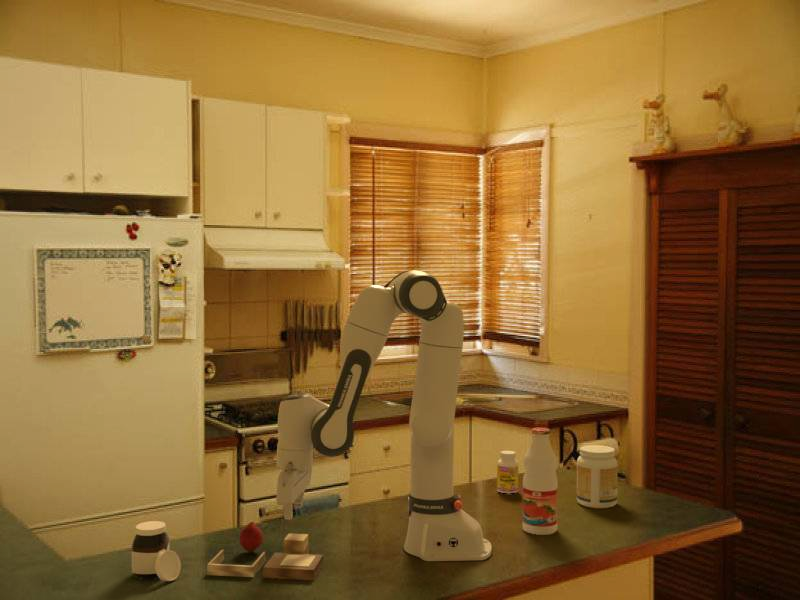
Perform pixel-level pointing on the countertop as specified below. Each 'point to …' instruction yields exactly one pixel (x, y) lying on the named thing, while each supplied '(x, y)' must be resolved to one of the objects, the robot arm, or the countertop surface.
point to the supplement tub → (597, 476)
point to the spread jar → (154, 553)
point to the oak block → (296, 543)
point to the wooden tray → (271, 566)
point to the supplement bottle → (507, 473)
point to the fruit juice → (540, 485)
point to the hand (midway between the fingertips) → (293, 513)
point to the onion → (251, 537)
